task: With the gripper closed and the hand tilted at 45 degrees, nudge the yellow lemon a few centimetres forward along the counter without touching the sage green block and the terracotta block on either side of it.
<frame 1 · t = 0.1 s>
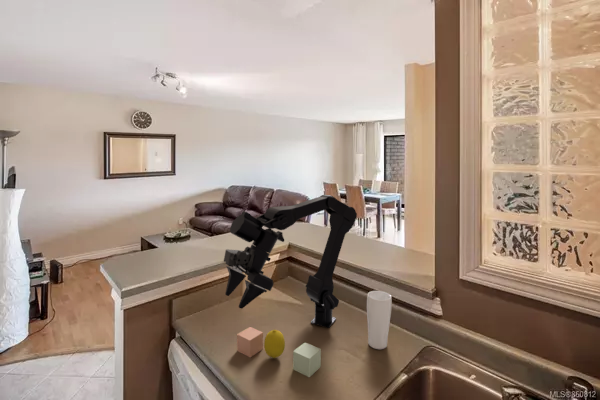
hand: (233, 301, 86), 15 cm above the counter, tool tilted 35°, fingers open, 9 cm apart
terracotta block: (250, 350, 89), on the counter
lemon: (274, 358, 86), on the counter
sage block: (306, 368, 81), on the counter
drinking glass: (377, 345, 92), on the counter
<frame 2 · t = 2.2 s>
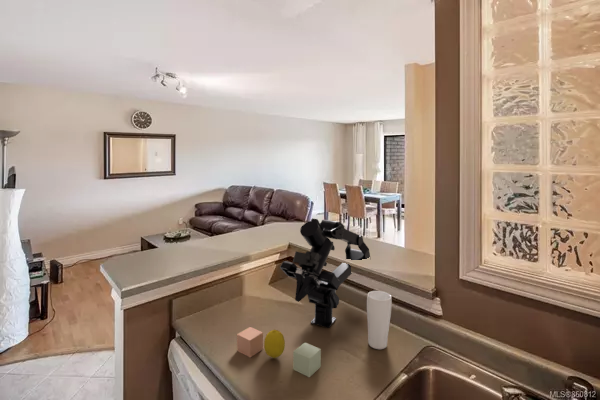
hand: (296, 300, 92), 12 cm above the counter, tool tilted 45°, fingers closed
nothing on the counter moved.
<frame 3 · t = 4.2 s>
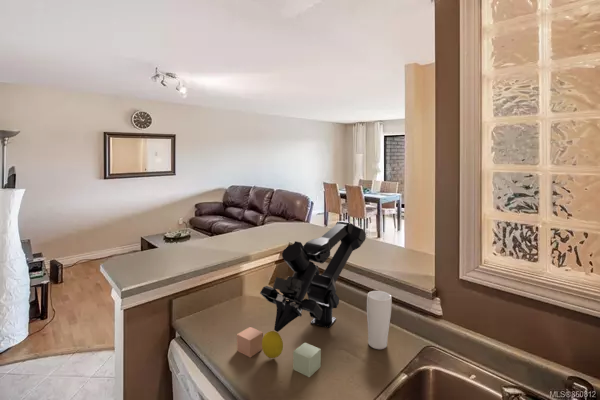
hand: (275, 331, 85), 7 cm above the counter, tool tilted 45°, fingers closed, pressing on lemon
lemon: (274, 357, 86), on the counter, touching gripper
everything else where it was.
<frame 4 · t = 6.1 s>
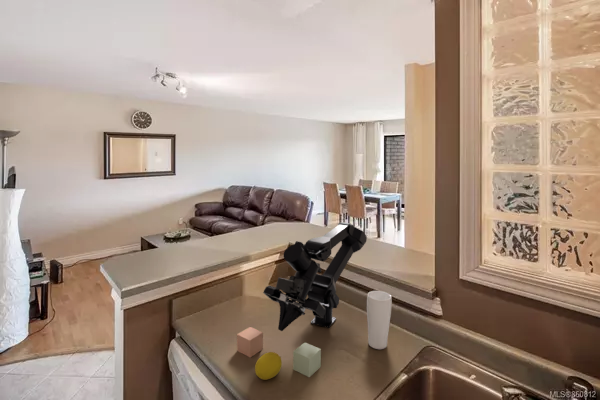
hand: (280, 330, 86), 7 cm above the counter, tool tilted 45°, fingers closed
lemon: (280, 356, 81), point 3 cm above the counter
everything else where it was.
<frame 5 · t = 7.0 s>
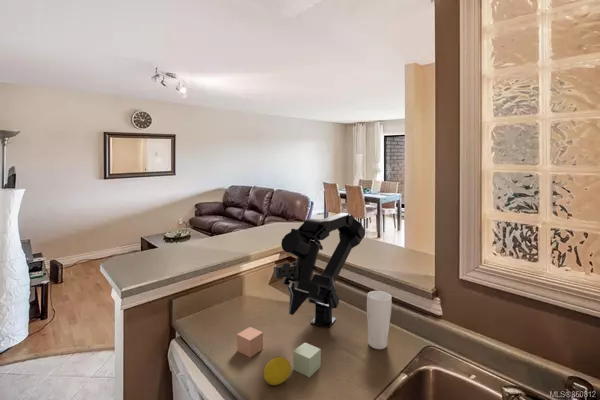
hand: (291, 314, 90), 9 cm above the counter, tool tilted 25°, fingers closed
lemon: (289, 362, 79), point 3 cm above the counter
everything else where it was.
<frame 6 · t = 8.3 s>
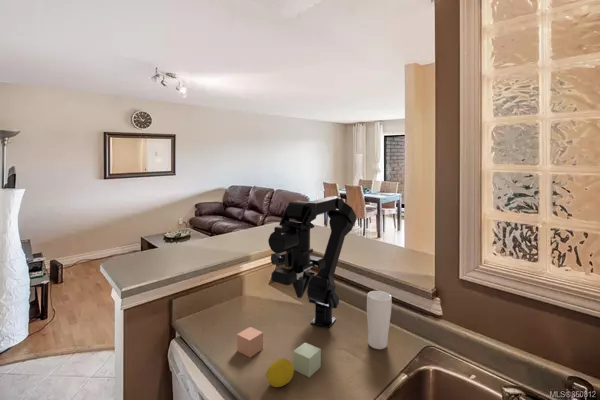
hand: (299, 297, 93), 13 cm above the counter, tool pointing down, fingers closed
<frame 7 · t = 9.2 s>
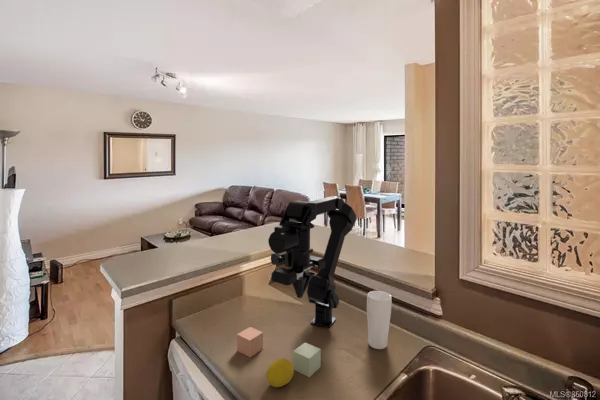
hand: (299, 297, 93), 13 cm above the counter, tool pointing down, fingers closed
nothing on the counter moved.
at the end: lemon moved 8.6 cm from its start; sage block moved 0.1 cm from its start; terracotta block moved 0.1 cm from its start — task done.
